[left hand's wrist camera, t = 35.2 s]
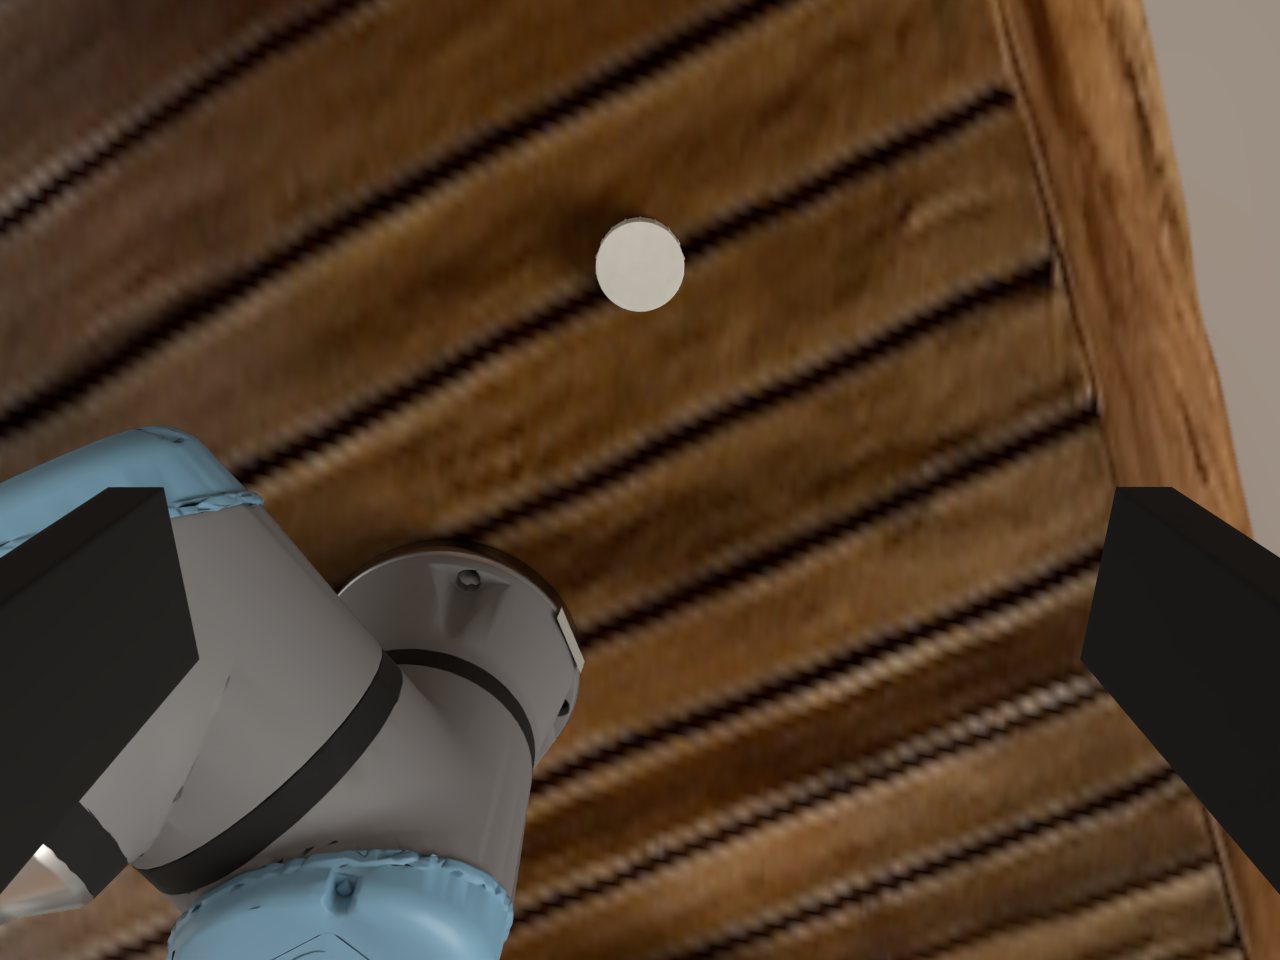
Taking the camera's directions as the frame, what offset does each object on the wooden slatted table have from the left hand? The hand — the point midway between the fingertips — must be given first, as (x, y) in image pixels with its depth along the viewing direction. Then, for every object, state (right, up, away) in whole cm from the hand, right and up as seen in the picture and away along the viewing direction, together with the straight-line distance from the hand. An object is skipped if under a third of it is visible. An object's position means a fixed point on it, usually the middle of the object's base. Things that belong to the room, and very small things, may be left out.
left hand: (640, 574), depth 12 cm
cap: (0, +12, +30) cm, 32 cm away
